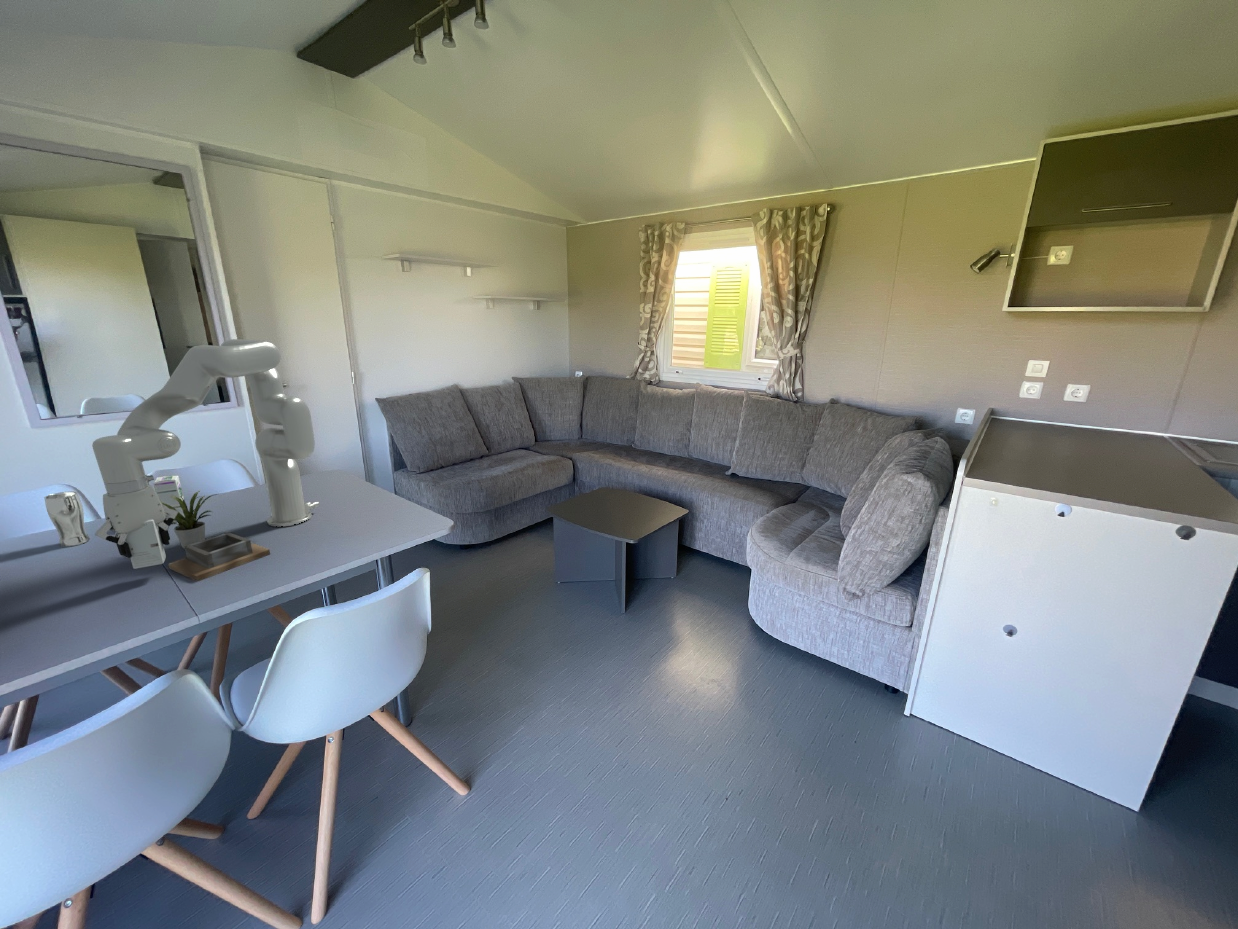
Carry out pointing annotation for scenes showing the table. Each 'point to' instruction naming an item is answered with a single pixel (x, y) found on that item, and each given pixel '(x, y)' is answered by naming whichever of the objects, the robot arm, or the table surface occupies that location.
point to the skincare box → (146, 545)
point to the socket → (217, 556)
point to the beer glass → (67, 517)
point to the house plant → (189, 521)
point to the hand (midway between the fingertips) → (146, 549)
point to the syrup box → (169, 491)
